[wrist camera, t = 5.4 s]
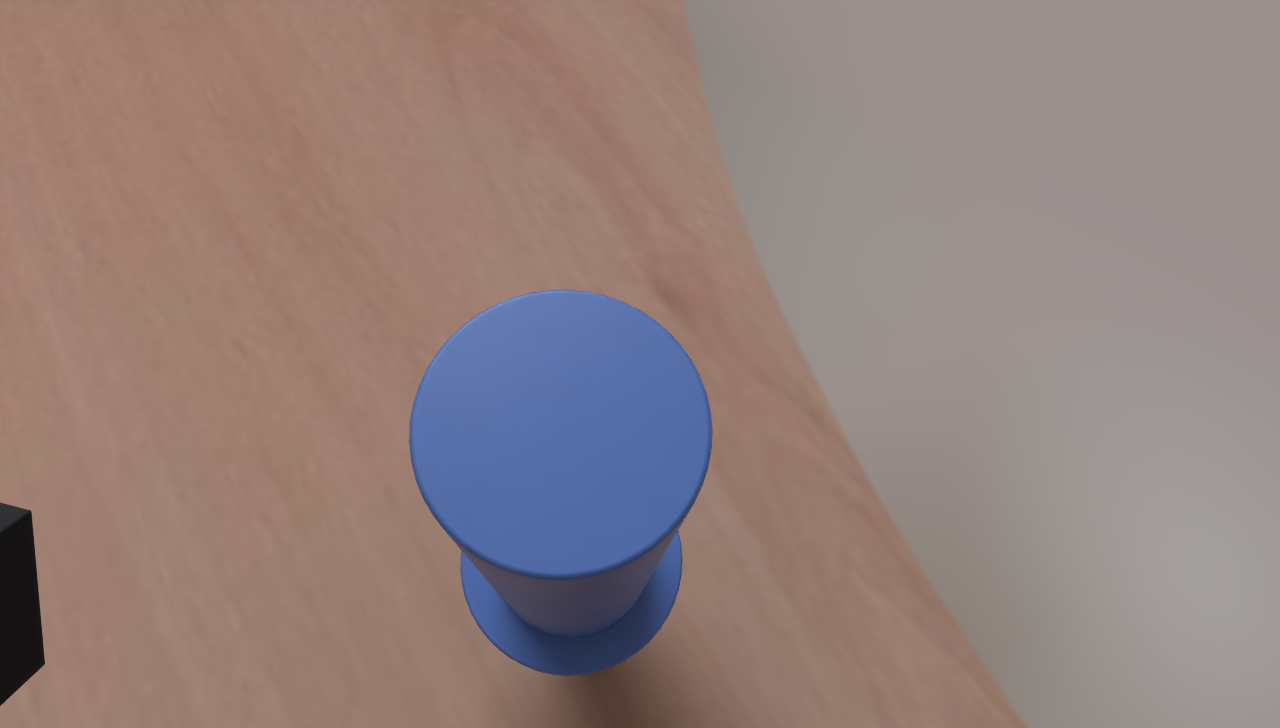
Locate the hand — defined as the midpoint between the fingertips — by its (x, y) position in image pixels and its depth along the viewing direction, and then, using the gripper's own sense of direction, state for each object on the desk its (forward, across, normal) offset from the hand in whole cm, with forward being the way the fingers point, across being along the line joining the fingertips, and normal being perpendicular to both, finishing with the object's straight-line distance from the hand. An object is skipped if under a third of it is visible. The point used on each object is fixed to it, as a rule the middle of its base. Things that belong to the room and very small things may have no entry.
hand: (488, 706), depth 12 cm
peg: (+15, 0, -10) cm, 18 cm away
